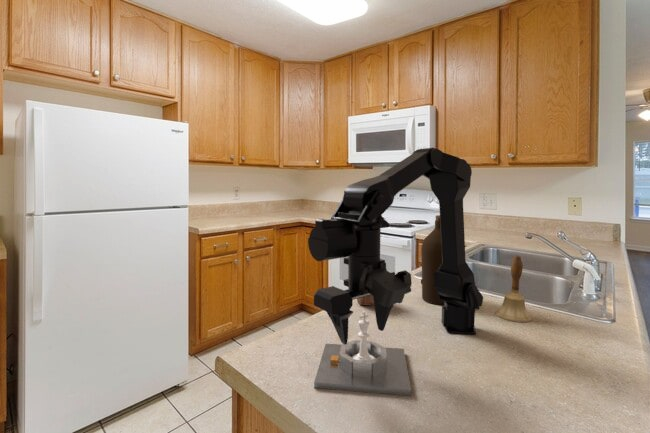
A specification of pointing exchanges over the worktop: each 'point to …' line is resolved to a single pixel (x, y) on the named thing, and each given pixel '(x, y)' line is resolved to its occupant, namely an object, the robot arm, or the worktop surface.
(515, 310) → the hand bell
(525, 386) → the worktop surface
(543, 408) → the worktop surface
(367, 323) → the chess piece
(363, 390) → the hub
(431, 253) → the olive oil
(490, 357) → the worktop surface
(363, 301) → the cupcake
